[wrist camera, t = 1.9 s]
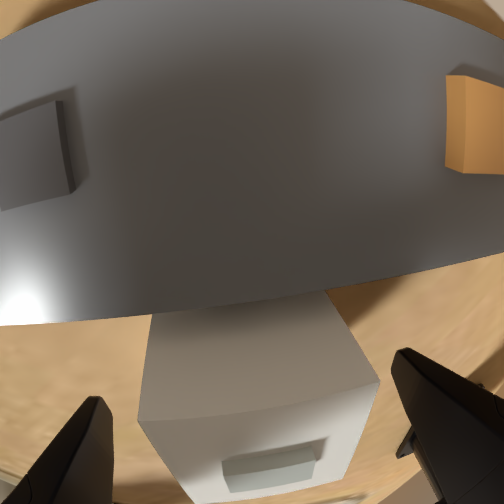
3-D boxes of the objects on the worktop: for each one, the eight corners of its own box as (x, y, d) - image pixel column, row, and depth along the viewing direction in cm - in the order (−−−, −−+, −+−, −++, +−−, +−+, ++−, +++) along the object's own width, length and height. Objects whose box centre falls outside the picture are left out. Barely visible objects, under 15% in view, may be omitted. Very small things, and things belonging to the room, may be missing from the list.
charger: (298, 363, 12) (346, 488, 7) (189, 379, 12) (196, 515, 7) (299, 160, 9) (430, 244, 4) (141, 178, 8) (59, 294, 3)
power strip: (443, 211, 10) (521, 259, 7) (6, 267, 8) (-54, 339, 5) (447, 52, 8) (539, 52, 4) (-31, 100, 6) (-118, 116, 2)
